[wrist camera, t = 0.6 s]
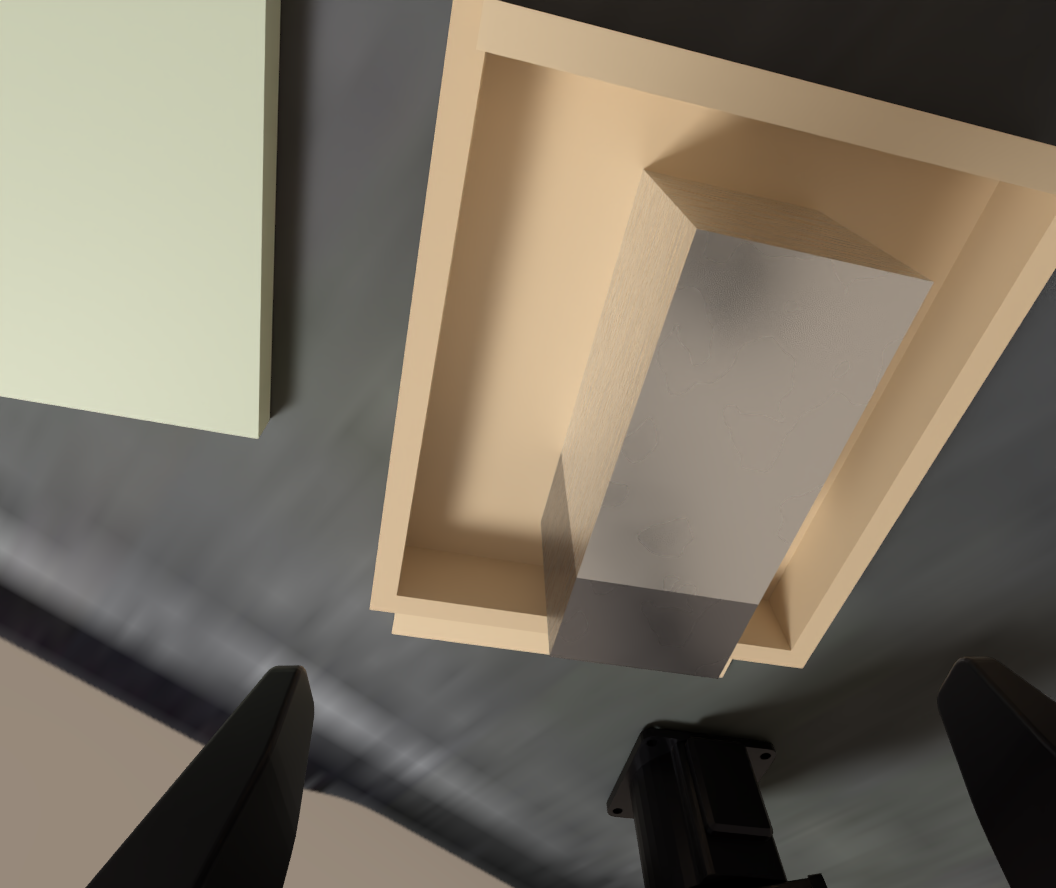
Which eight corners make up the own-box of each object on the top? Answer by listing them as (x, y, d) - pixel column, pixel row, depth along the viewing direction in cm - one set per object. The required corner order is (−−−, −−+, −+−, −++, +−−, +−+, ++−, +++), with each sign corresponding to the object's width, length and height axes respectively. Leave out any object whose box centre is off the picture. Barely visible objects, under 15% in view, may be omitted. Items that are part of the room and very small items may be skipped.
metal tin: (674, 543, 25) (718, 678, 20) (540, 521, 24) (549, 656, 19) (817, 210, 19) (933, 281, 14) (643, 169, 18) (696, 228, 13)
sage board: (269, 419, 22) (258, 438, 21) (-67, 362, 21) (-96, 380, 20) (283, -120, 15) (267, -130, 14) (-225, -259, 14) (-284, -281, 13)
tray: (737, 674, 29) (818, 903, 22) (372, 625, 27) (320, 860, 20) (1036, 143, 18) (1412, 232, 11) (462, -7, 16) (423, -29, 9)
